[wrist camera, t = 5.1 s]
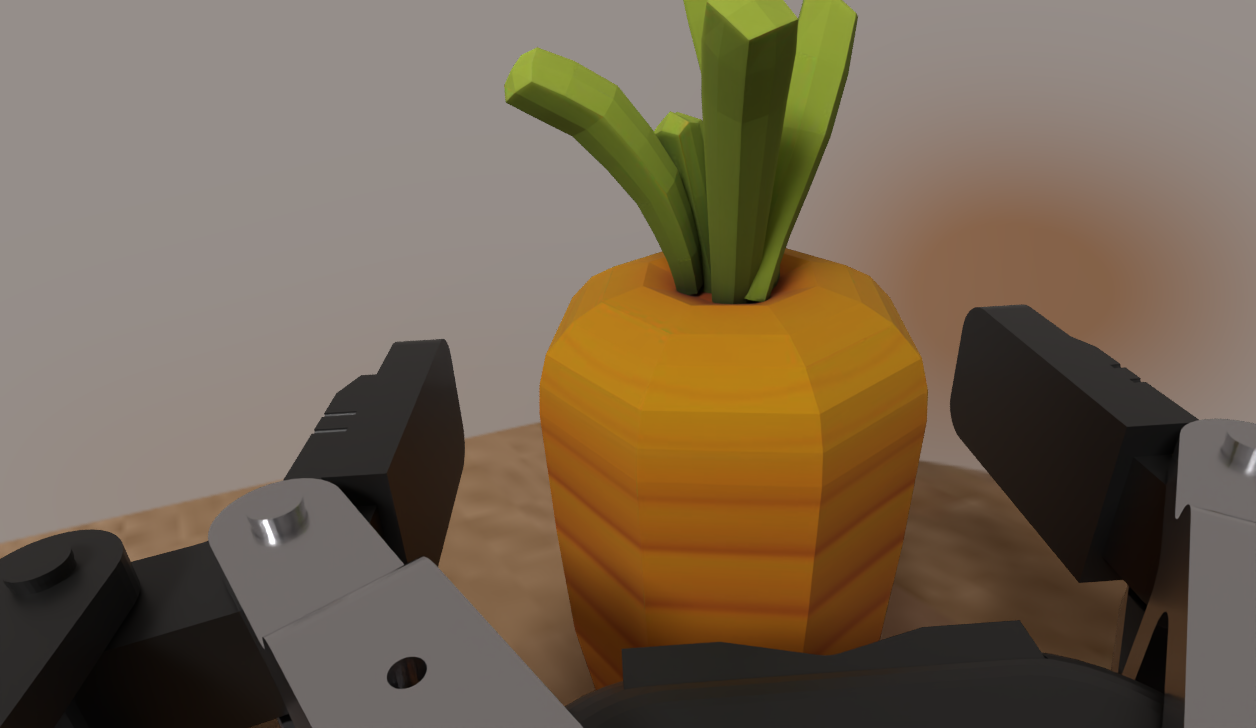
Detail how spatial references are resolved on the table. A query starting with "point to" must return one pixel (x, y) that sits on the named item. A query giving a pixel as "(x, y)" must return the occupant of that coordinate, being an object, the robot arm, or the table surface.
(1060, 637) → the table surface
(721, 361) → the carrot
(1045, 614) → the table surface
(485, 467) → the table surface
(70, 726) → the robot arm
